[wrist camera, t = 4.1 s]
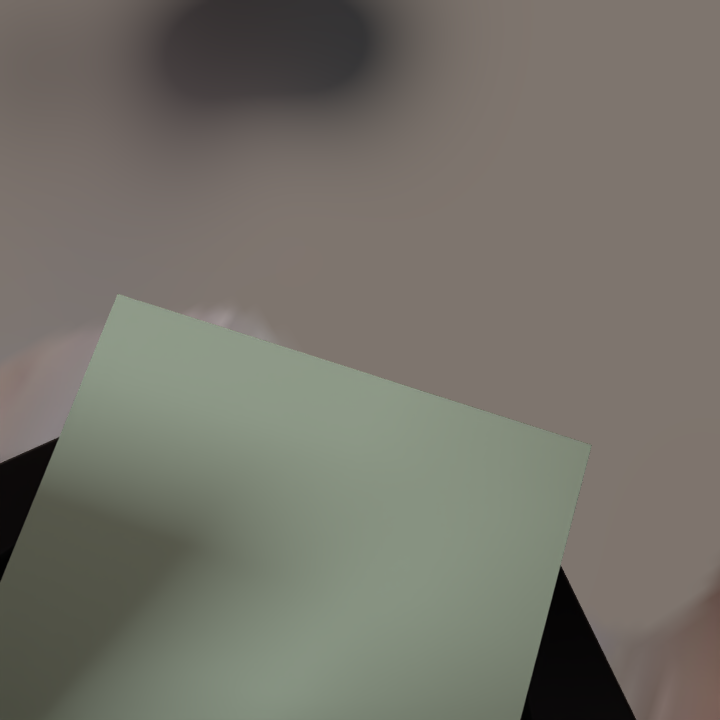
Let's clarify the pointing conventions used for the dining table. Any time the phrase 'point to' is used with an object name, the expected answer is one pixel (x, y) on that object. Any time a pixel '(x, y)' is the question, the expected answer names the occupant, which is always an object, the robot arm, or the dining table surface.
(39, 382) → the dining table surface
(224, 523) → the sage block
